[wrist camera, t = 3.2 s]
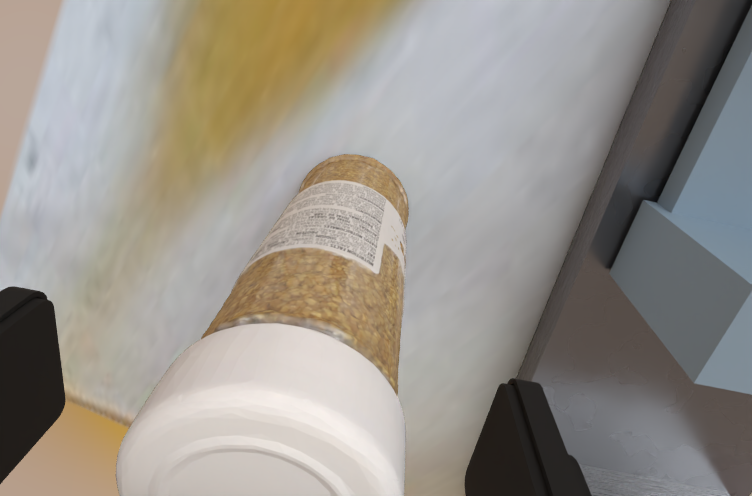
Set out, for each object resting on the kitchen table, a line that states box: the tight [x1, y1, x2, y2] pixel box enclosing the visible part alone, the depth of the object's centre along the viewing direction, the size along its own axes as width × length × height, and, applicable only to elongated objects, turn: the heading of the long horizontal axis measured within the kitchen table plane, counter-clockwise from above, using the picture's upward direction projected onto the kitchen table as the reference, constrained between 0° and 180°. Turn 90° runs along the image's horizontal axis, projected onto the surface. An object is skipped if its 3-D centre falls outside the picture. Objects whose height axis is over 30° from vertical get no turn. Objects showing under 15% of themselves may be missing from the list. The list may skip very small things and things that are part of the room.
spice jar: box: [116, 154, 409, 496], centre depth 13 cm, size 5×5×14 cm
